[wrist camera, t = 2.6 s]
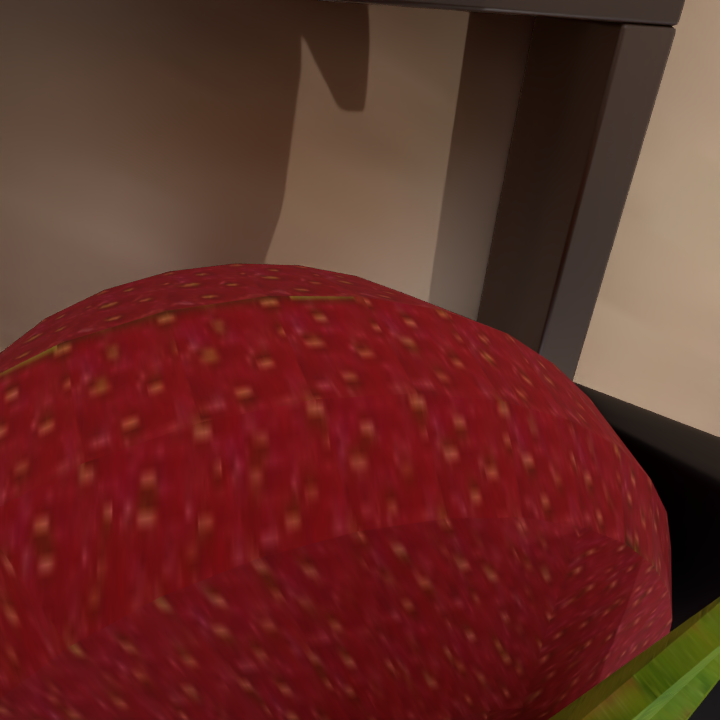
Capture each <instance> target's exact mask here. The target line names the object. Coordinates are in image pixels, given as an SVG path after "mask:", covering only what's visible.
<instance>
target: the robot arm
mask: <svg viewBox="0 0 720 720" xmlns="http://www.w3.org/2000/svg"><path fill="white" fill-rule="evenodd" d="M573 383H574V384H575V385H576V386H577V387H578V388H579V389H581V390H582V391H583V392H584V393H585V394H586V395H587V396H588V397H589V398H590V399H591V401H592V402H593V403H594V405H595V406H596V407H597V409H598V410H599V411H600V413H601V414H602V415H603V417H604V418H605V419H606V421H607V422H608V423H609V425H610V426H611V427H612V429H613V430H614V431H615V432H616V434H617V435H618V436H619V438H620V439H621V440H622V442H623V443H624V444H625V446H626V447H627V448H628V450H629V451H630V452H631V454H632V455H633V456H634V458H635V459H636V460H637V462H638V463H639V464H640V466H641V467H642V468H643V470H644V471H645V472H646V473H647V475H648V476H649V477H650V479H651V481H652V483H653V485H654V487H655V489H656V491H657V493H658V495H659V497H660V499H661V501H662V503H663V506H664V508H665V510H666V512H667V518H668V526H669V534H670V543H671V574H672V623H671V628H670V632H671V631H673V630H674V629H675V628H677V627H678V626H680V625H681V624H682V623H684V622H685V621H687V620H688V619H689V618H691V617H692V616H694V615H695V614H696V613H698V612H699V611H701V610H702V609H703V608H705V607H706V606H707V605H709V604H710V603H712V602H713V601H714V600H716V599H717V598H719V597H720V437H717V436H714V435H712V434H709V433H706V432H704V431H701V430H699V429H696V428H693V427H691V426H688V425H685V424H683V423H680V422H677V421H675V420H672V419H670V418H667V417H664V416H662V415H659V414H656V413H654V412H651V411H648V410H646V409H643V408H641V407H638V406H635V405H633V404H630V403H627V402H625V401H622V400H620V399H617V398H614V397H612V396H609V395H606V394H604V393H601V392H598V391H596V390H593V389H591V388H588V387H585V386H583V385H580V384H577V383H575V382H573ZM688 720H720V680H719V681H718V682H717V683H716V685H715V686H714V687H713V688H712V690H711V691H710V692H709V693H708V695H707V696H706V697H705V699H704V700H703V701H702V702H701V704H700V705H699V706H698V707H697V709H696V710H695V711H694V712H693V714H692V715H691V716H690V717H689V719H688Z"/></svg>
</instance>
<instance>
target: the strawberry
mask: <svg viewBox="0 0 720 720" xmlns="http://www.w3.org/2000/svg"><path fill="white" fill-rule="evenodd" d="M671 623H672V574H671V543H670V534H669V526H668V518H667V512H666V510H665V508H664V506H663V503H662V501H661V499H660V497H659V495H658V493H657V491H656V489H655V487H654V485H653V483H652V481H651V479H650V477H649V476H648V475H647V473H646V472H645V471H644V470H643V468H642V467H641V466H640V464H639V463H638V462H637V460H636V459H635V458H634V456H633V455H632V454H631V452H630V451H629V450H628V448H627V447H626V446H625V444H624V443H623V442H622V440H621V439H620V438H619V436H618V435H617V434H616V432H615V431H614V430H613V429H612V427H611V426H610V425H609V423H608V422H607V421H606V419H605V418H604V417H603V415H602V414H601V413H600V411H599V410H598V409H597V407H596V406H595V405H594V403H593V402H592V401H591V399H590V398H589V397H588V396H587V395H586V394H585V393H584V392H583V391H582V390H581V389H579V388H578V387H577V386H576V385H575V384H574V383H573V382H572V381H571V380H570V379H569V378H568V377H567V376H566V375H565V374H564V373H563V372H562V371H561V370H560V369H559V368H558V367H557V366H556V365H555V364H553V363H552V362H550V361H549V360H547V359H546V358H544V357H543V356H541V355H540V354H538V353H536V352H535V351H533V350H532V349H530V348H529V347H527V346H526V345H524V344H523V343H521V342H520V341H518V340H517V339H515V338H514V337H512V336H511V335H509V334H507V333H505V332H502V331H499V330H497V329H494V328H492V327H489V326H487V325H484V324H482V323H479V322H476V321H474V320H471V319H469V318H466V317H464V316H461V315H458V314H456V313H453V312H451V311H448V310H446V309H443V308H440V307H438V306H435V305H433V304H430V303H428V302H425V301H422V300H420V299H417V298H415V297H412V296H410V295H407V294H404V293H402V292H399V291H396V290H393V289H390V288H388V287H385V286H382V285H379V284H377V283H374V282H371V281H368V280H366V279H363V278H360V277H357V276H353V275H348V274H342V273H337V272H331V271H326V270H321V269H315V268H310V267H304V266H299V265H267V264H228V265H219V266H211V267H203V268H194V269H186V270H178V271H170V272H166V273H162V274H159V275H155V276H152V277H148V278H145V279H141V280H138V281H134V282H131V283H127V284H124V285H120V286H117V287H113V288H110V289H106V290H103V291H101V292H99V293H97V294H95V295H93V296H91V297H89V298H87V299H85V300H82V301H80V302H78V303H76V304H74V305H72V306H70V307H68V308H66V309H64V310H62V311H60V312H58V313H56V314H54V315H52V316H49V317H47V318H45V319H44V320H43V321H41V322H40V323H39V324H38V325H36V326H35V327H34V328H32V329H31V330H30V331H28V332H27V333H26V334H25V335H23V336H22V337H21V338H19V339H18V340H17V341H15V342H14V343H13V344H12V345H10V346H9V347H8V348H6V349H5V350H4V351H2V352H1V353H0V720H688V719H689V717H690V716H691V715H692V714H693V712H694V711H695V710H696V709H697V707H698V706H699V705H700V704H701V702H702V701H703V700H704V699H705V697H706V696H707V695H708V693H709V692H710V691H711V690H712V688H713V687H714V686H715V685H716V683H717V682H718V681H719V680H720V597H719V598H717V599H716V600H714V601H713V602H712V603H710V604H709V605H707V606H706V607H705V608H703V609H702V610H701V611H699V612H698V613H696V614H695V615H694V616H692V617H691V618H689V619H688V620H687V621H685V622H684V623H682V624H681V625H680V626H678V627H677V628H675V629H674V630H673V631H671V632H670V628H671Z"/></svg>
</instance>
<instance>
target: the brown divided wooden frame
mask: <svg viewBox="0 0 720 720" xmlns="http://www.w3.org/2000/svg"><path fill="white" fill-rule="evenodd" d="M320 1H334V2H347V3H361V4H375V5H388V6H402V7H416V8H429V9H443V10H457V11H471V12H484V13H498V14H512V15H525V16H536V17H535V21H534V27H533V32H532V37H531V42H530V48H529V53H528V58H527V63H526V68H525V74H524V79H523V84H522V89H521V95H520V100H519V105H518V110H517V116H516V121H515V126H514V131H513V136H512V142H511V147H510V152H509V157H508V163H507V168H506V173H505V178H504V183H503V189H502V194H501V199H500V204H499V210H498V215H497V220H496V225H495V230H494V236H493V241H492V246H491V251H490V257H489V262H488V267H487V272H486V277H485V283H484V288H483V293H482V298H481V304H480V309H479V314H478V319H477V322H479V323H482V324H484V325H487V326H489V327H492V328H494V329H497V330H499V331H502V332H505V333H507V334H509V335H511V336H512V337H514V338H515V339H517V340H518V341H520V342H521V343H523V344H524V345H526V346H527V347H529V348H530V349H532V350H533V351H535V352H536V353H538V354H540V355H541V356H543V357H544V358H546V359H547V360H549V361H550V362H552V363H553V364H555V365H556V366H557V367H558V368H559V369H560V370H561V371H562V372H563V373H564V374H565V375H566V376H567V377H568V378H569V379H570V380H571V381H572V382H573V378H574V375H575V371H576V368H577V365H578V361H579V358H580V354H581V351H582V348H583V344H584V341H585V338H586V334H587V331H588V327H589V324H590V321H591V317H592V314H593V310H594V307H595V304H596V300H597V297H598V293H599V290H600V287H601V283H602V280H603V277H604V273H605V270H606V266H607V263H608V260H609V256H610V253H611V249H612V246H613V243H614V239H615V236H616V232H617V229H618V226H619V222H620V219H621V216H622V212H623V209H624V205H625V202H626V199H627V195H628V192H629V188H630V185H631V182H632V178H633V175H634V171H635V168H636V165H637V161H638V158H639V155H640V151H641V148H642V144H643V141H644V138H645V134H646V131H647V127H648V124H649V121H650V117H651V114H652V110H653V107H654V104H655V100H656V97H657V94H658V90H659V87H660V83H661V80H662V77H663V73H664V70H665V66H666V63H667V60H668V56H669V53H670V49H671V46H672V43H673V39H674V36H675V28H673V27H672V26H674V25H677V24H678V22H679V19H680V16H681V13H682V9H683V6H684V2H685V0H320Z"/></svg>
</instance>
